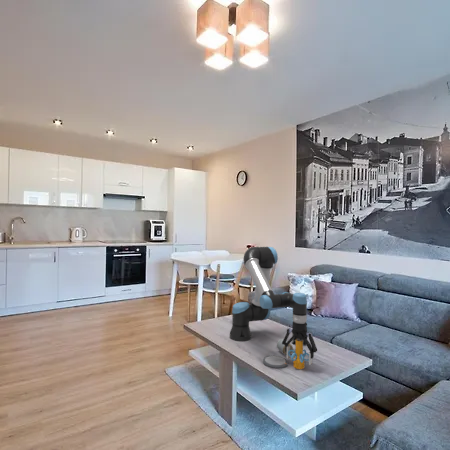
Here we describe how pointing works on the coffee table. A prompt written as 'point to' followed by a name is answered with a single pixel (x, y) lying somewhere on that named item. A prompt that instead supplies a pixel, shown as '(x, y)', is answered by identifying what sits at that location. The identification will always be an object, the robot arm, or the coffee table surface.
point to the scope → (295, 340)
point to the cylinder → (298, 355)
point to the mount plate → (275, 361)
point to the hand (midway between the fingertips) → (298, 360)
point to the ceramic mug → (283, 347)
